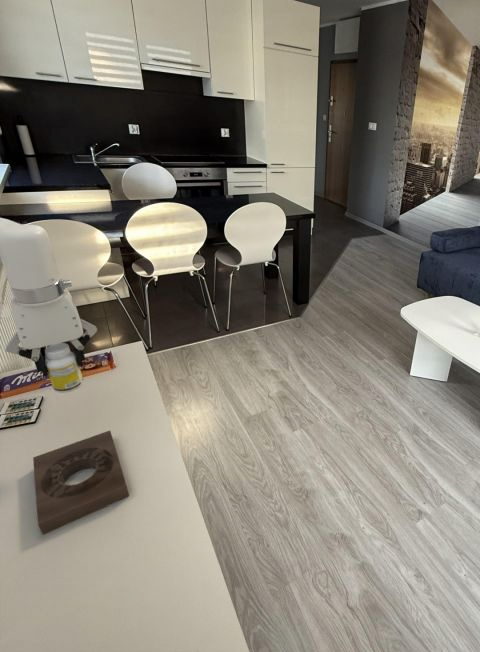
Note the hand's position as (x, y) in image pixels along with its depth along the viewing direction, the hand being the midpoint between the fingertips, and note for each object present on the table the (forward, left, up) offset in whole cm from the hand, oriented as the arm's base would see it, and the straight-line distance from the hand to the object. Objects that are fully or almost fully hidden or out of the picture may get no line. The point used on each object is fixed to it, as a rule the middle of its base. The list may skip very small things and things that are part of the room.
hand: (63, 367), depth 83 cm
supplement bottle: (0, 0, -5) cm, 5 cm away
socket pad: (+6, -12, -20) cm, 24 cm away
